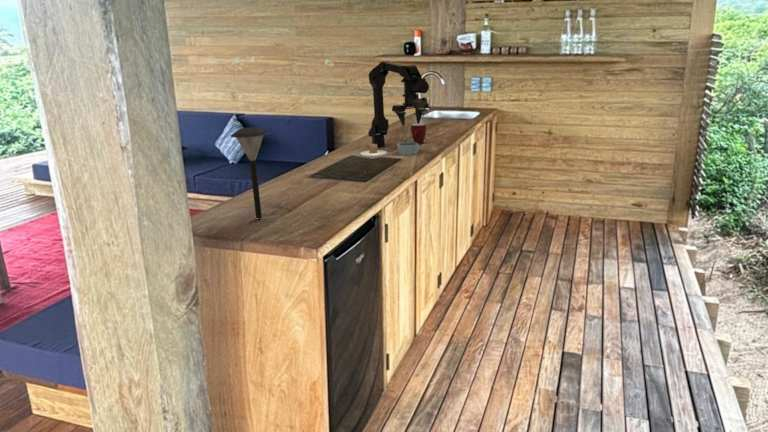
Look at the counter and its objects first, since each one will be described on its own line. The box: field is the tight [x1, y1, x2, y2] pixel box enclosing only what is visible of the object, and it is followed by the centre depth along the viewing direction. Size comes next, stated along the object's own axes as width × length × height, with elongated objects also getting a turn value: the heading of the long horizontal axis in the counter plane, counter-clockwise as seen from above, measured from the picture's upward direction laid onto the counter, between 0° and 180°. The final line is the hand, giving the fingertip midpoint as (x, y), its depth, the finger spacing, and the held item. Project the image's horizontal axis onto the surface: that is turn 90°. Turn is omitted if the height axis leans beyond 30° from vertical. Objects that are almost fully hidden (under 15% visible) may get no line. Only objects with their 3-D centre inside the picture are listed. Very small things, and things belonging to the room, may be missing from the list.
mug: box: [410, 123, 427, 145], centre depth 320 cm, size 11×8×10 cm
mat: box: [352, 151, 397, 160], centre depth 296 cm, size 16×16×1 cm
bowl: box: [396, 141, 420, 156], centre depth 294 cm, size 10×10×5 cm
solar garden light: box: [230, 126, 270, 219], centre depth 194 cm, size 12×12×30 cm
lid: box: [359, 143, 388, 158], centre depth 295 cm, size 13×13×5 cm
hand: (411, 124), depth 292 cm, fingers open, 9 cm apart
